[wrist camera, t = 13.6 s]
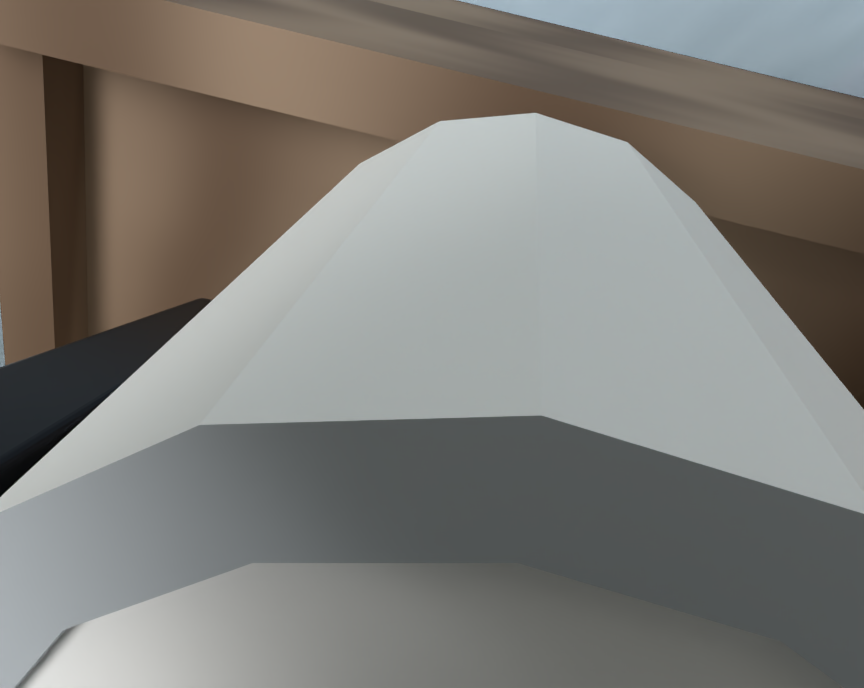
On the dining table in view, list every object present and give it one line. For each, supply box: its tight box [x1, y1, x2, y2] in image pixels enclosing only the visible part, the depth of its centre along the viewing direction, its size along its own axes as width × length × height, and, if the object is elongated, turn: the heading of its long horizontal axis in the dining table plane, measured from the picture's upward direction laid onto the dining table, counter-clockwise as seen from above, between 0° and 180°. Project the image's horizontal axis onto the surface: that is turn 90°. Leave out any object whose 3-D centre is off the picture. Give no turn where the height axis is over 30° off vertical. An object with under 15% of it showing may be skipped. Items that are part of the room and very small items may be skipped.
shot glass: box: [0, 113, 864, 688], centre depth 8 cm, size 7×7×7 cm
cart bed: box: [0, 0, 864, 409], centre depth 18 cm, size 20×14×6 cm
